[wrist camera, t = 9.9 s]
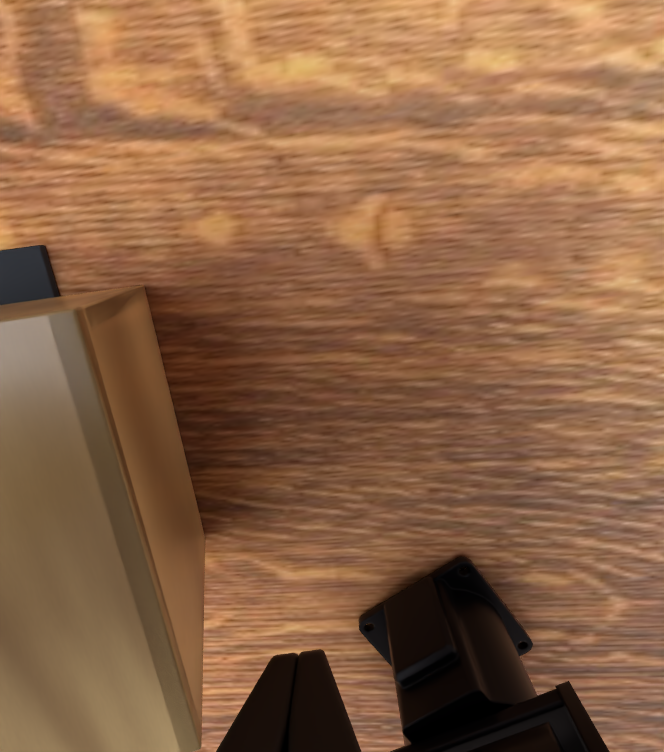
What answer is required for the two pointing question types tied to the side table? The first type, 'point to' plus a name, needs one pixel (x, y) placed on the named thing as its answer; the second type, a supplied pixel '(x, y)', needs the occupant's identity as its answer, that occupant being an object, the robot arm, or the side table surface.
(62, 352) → the wooden box
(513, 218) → the side table surface
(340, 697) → the robot arm
